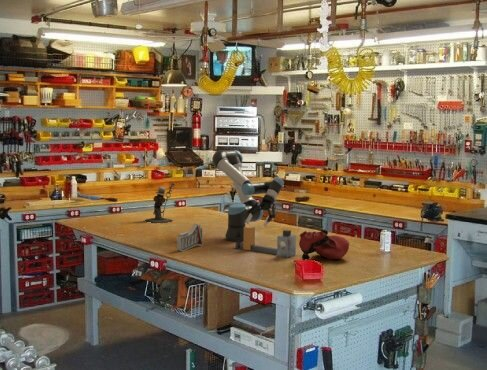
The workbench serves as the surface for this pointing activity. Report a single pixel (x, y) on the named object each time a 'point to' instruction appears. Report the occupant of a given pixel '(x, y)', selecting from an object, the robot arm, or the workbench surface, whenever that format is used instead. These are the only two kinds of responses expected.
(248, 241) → the carriage
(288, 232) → the button
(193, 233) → the decorative sign
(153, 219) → the figurine
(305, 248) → the red backpack
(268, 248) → the guide rail
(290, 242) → the cabinet
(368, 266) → the workbench surface
